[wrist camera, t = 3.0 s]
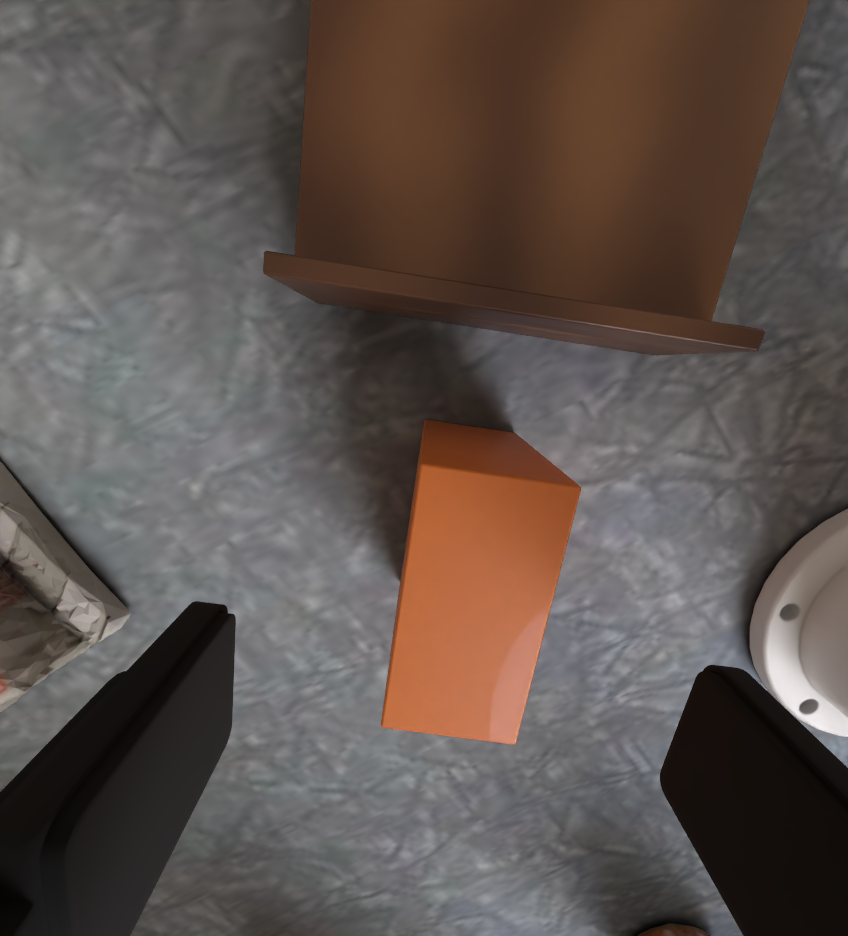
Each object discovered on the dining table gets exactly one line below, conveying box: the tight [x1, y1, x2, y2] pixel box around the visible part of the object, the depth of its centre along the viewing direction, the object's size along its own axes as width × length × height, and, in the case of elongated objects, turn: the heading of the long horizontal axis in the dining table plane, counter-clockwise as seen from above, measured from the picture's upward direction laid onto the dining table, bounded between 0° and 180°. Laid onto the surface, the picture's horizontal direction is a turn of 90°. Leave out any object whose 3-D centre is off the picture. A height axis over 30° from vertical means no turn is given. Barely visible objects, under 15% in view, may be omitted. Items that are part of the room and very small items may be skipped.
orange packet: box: [381, 420, 581, 745], centre depth 15 cm, size 4×8×8 cm, turn 172°
